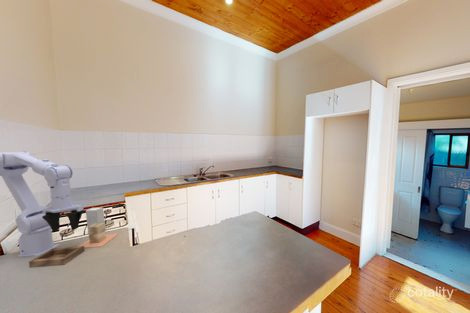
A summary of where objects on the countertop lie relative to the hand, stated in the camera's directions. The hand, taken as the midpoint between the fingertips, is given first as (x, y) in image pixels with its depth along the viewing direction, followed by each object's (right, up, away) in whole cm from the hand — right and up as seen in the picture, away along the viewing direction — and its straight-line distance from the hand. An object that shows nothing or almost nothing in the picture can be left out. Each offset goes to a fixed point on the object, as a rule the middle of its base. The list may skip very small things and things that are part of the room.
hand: (65, 229), depth 73 cm
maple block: (+8, -8, +7) cm, 13 cm away
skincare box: (-1, -9, +18) cm, 20 cm away
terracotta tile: (+8, -9, +7) cm, 14 cm away
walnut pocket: (+2, -10, -5) cm, 11 cm away
